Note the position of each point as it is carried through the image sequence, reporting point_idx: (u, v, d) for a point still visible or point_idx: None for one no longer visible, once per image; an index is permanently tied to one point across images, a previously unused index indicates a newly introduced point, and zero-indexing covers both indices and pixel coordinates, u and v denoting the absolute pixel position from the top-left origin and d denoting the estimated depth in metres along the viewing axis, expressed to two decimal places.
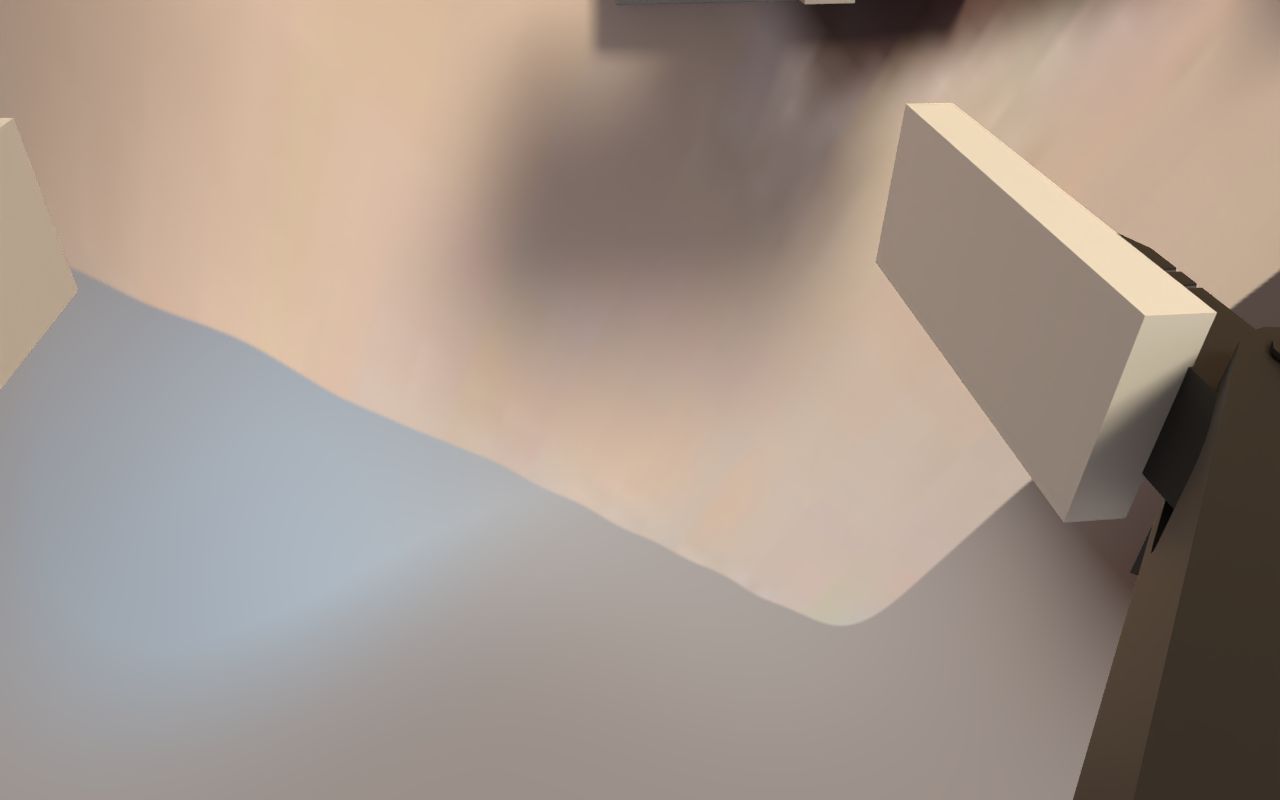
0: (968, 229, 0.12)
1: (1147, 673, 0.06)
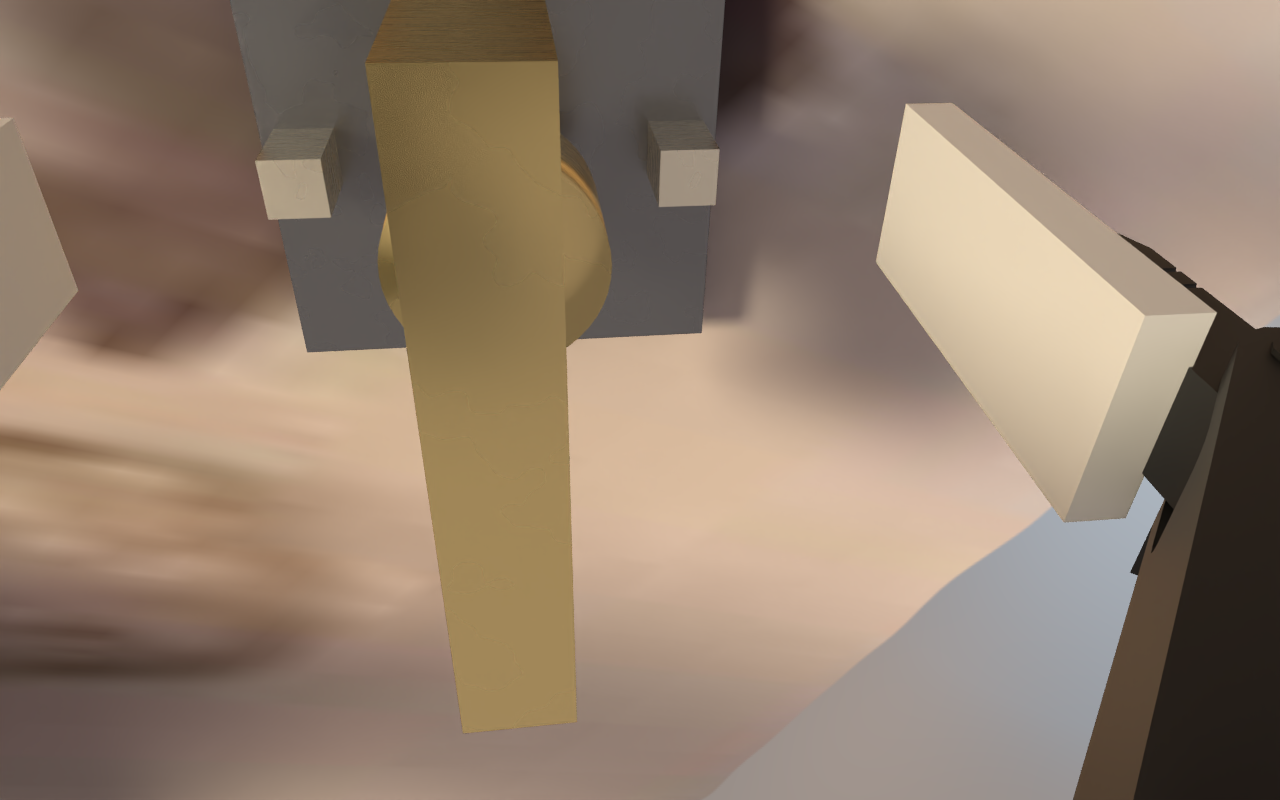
0: (968, 229, 0.12)
1: (1147, 673, 0.06)
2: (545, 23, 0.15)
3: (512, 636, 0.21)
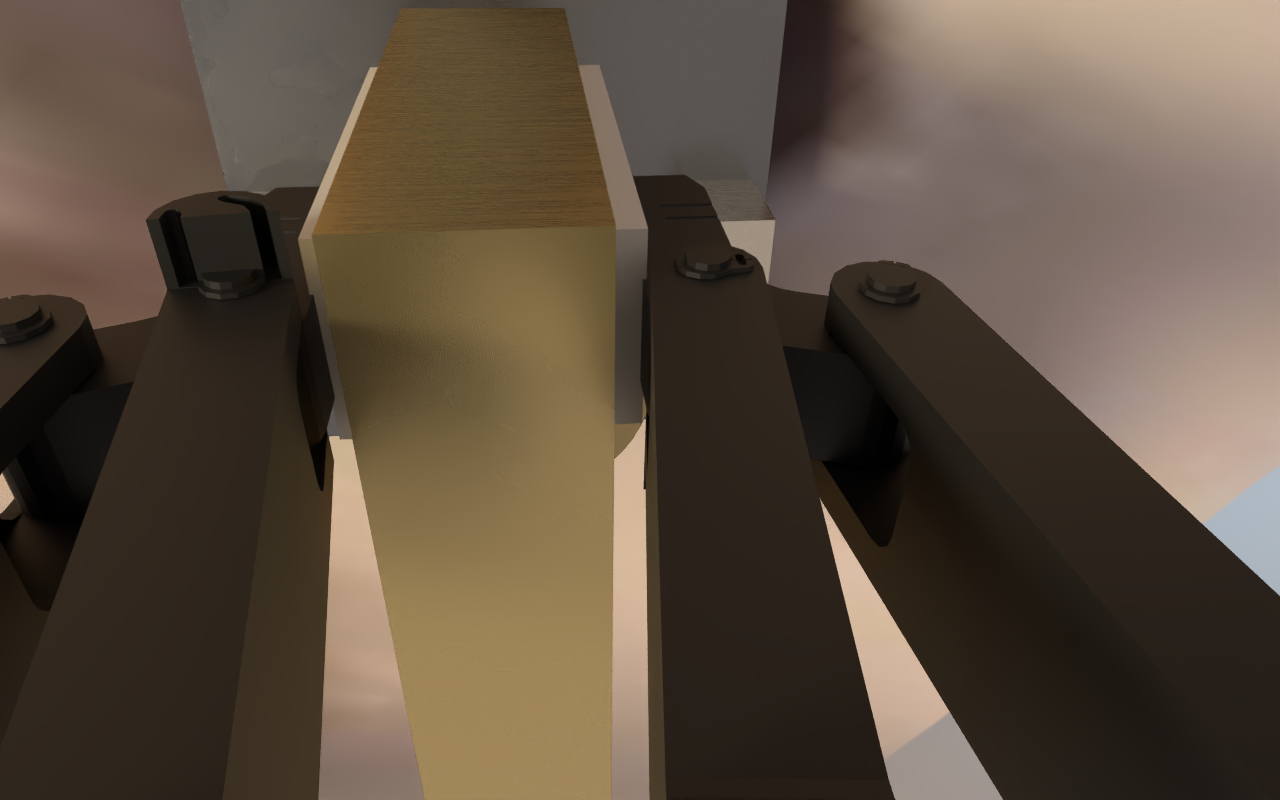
0: None
1: (656, 596, 0.07)
2: (589, 140, 0.11)
3: None
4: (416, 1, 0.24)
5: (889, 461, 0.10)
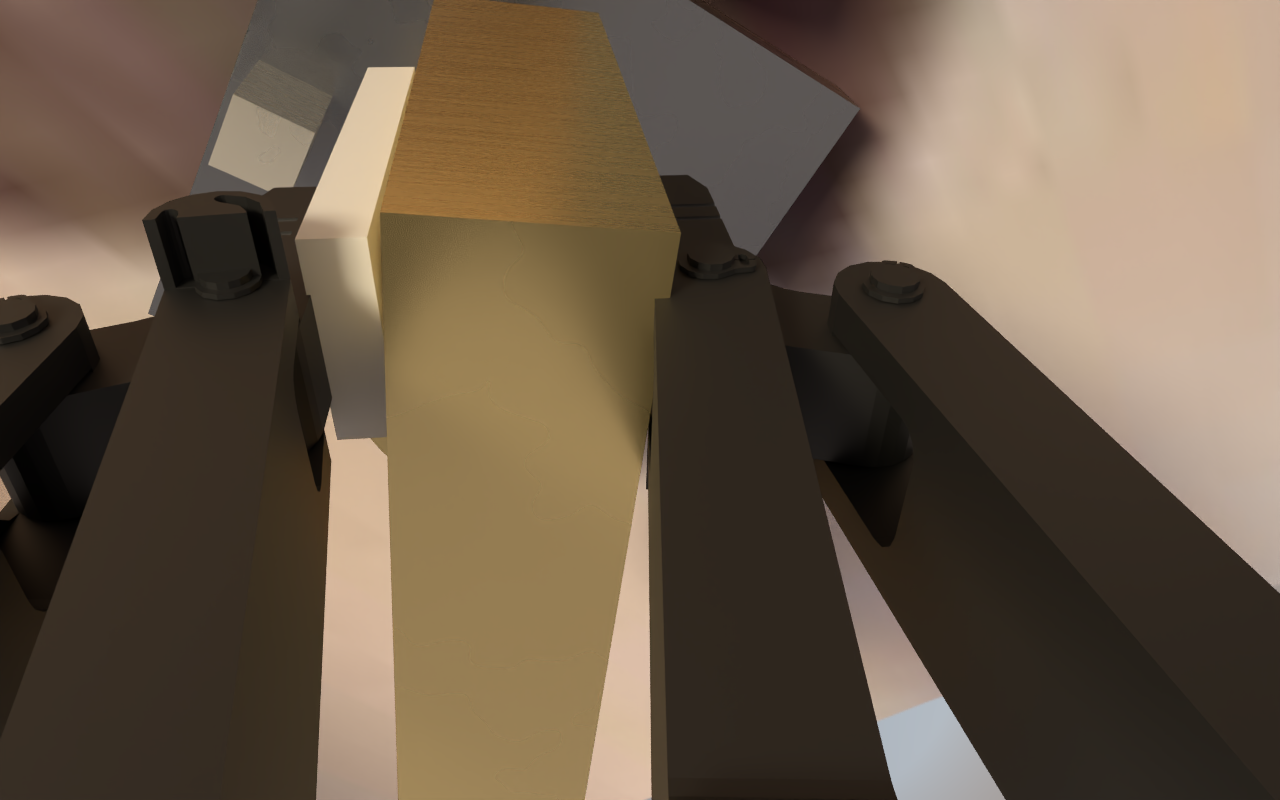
0: None
1: (659, 596, 0.07)
2: (642, 146, 0.11)
3: None
4: None
5: (893, 461, 0.10)
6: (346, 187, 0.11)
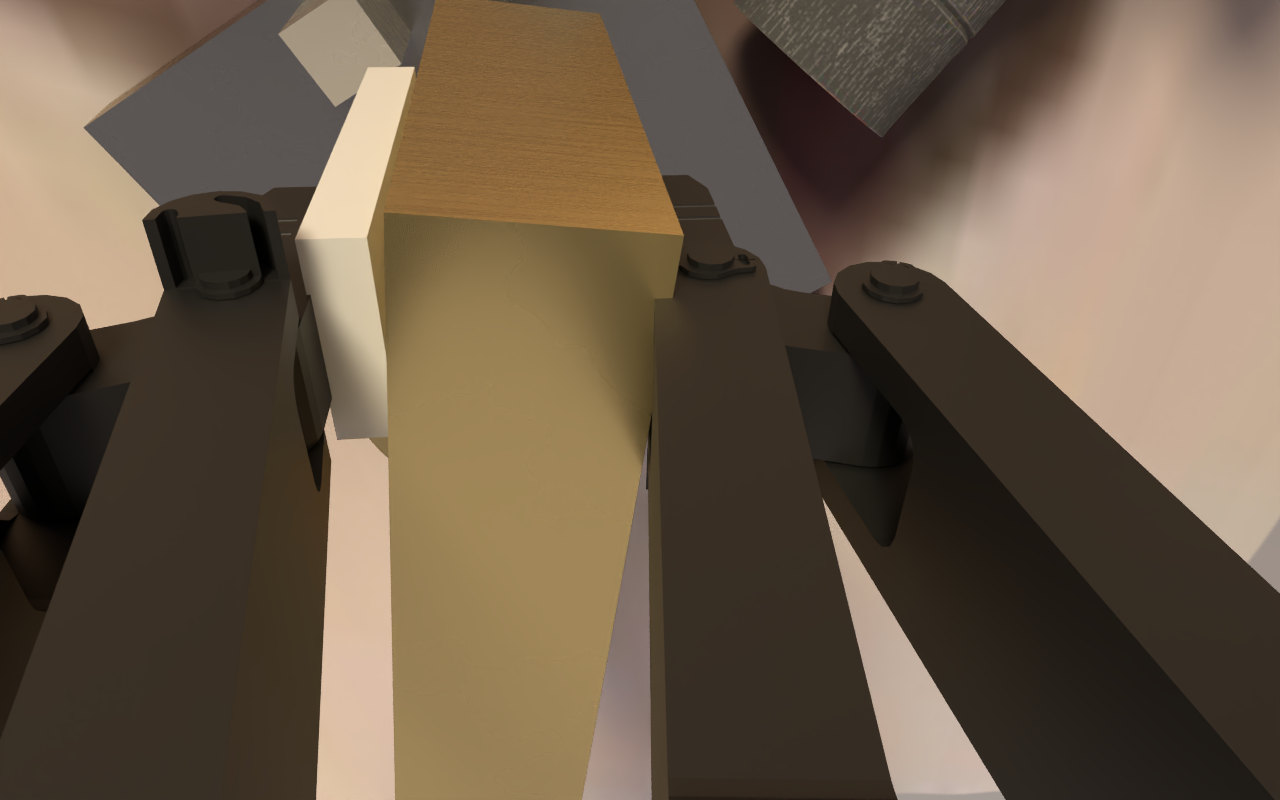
0: None
1: (658, 596, 0.07)
2: (645, 148, 0.11)
3: None
4: (639, 43, 0.25)
5: (893, 461, 0.10)
6: (346, 187, 0.11)
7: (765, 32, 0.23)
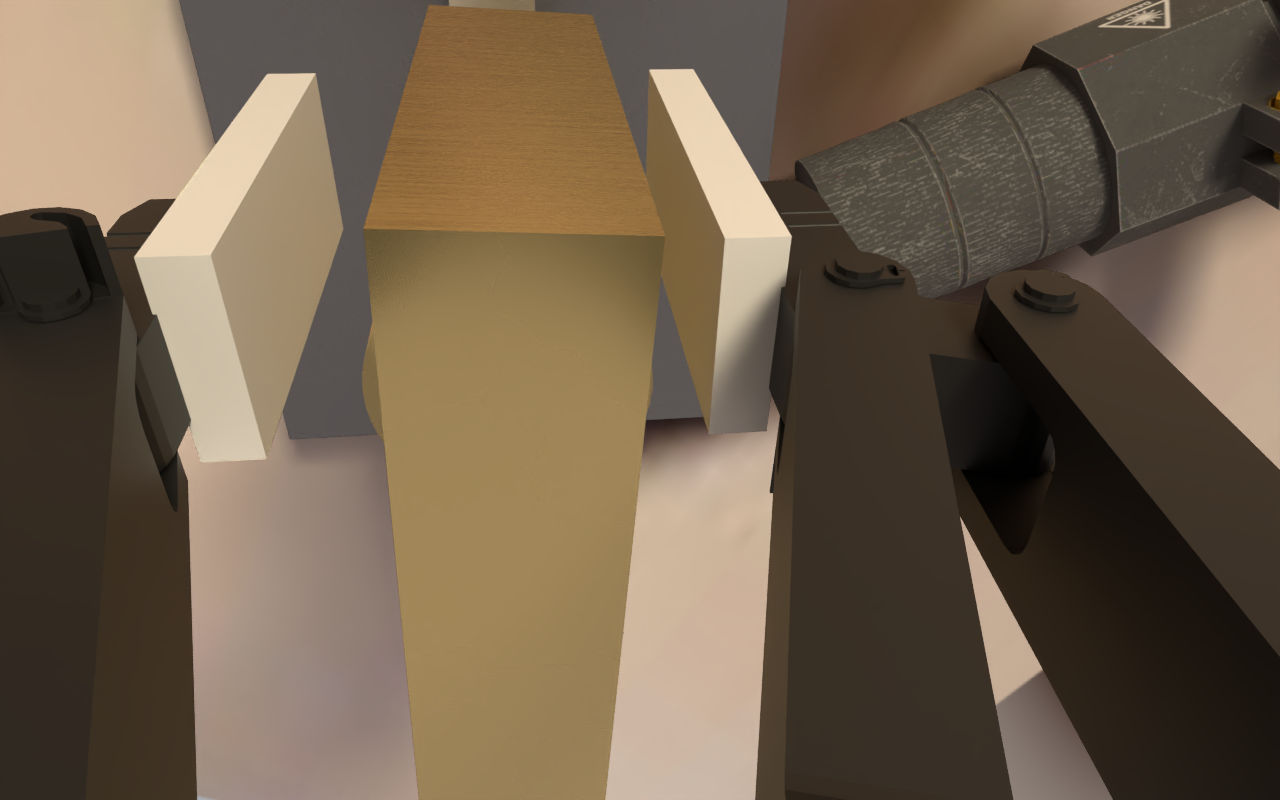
0: (671, 179, 0.14)
1: (783, 595, 0.07)
2: (630, 149, 0.11)
3: None
4: None
5: (1030, 474, 0.10)
6: (205, 201, 0.10)
7: None
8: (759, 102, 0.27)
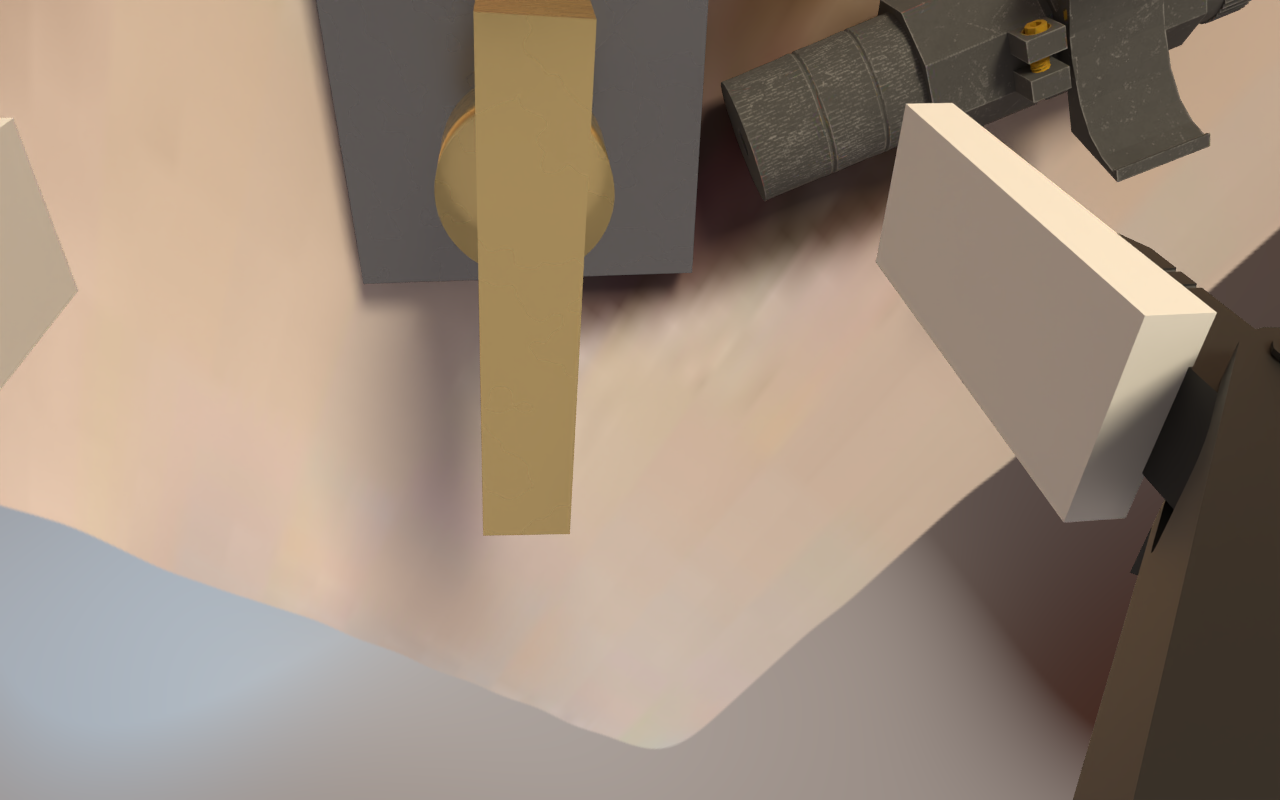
0: (967, 228, 0.12)
1: (1147, 673, 0.06)
2: None
3: (528, 453, 0.28)
4: (662, 65, 0.40)
5: None
6: None
7: (736, 106, 0.39)
8: (694, 33, 0.39)
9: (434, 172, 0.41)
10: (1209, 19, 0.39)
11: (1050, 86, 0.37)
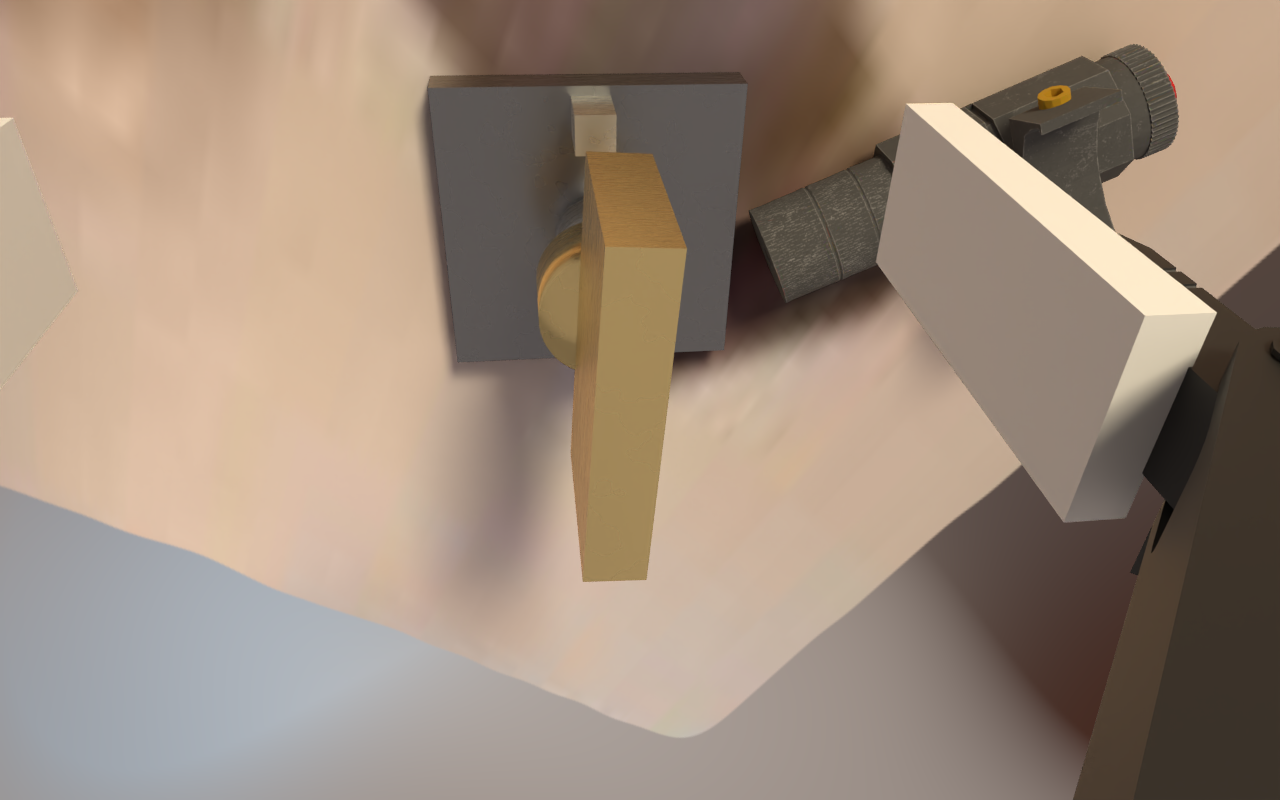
0: (968, 229, 0.12)
1: (1147, 673, 0.06)
2: (674, 220, 0.33)
3: (620, 524, 0.38)
4: (704, 195, 0.50)
5: None
6: None
7: (762, 235, 0.49)
8: (730, 171, 0.49)
9: (519, 277, 0.51)
10: (1139, 157, 0.49)
11: None
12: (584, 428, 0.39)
